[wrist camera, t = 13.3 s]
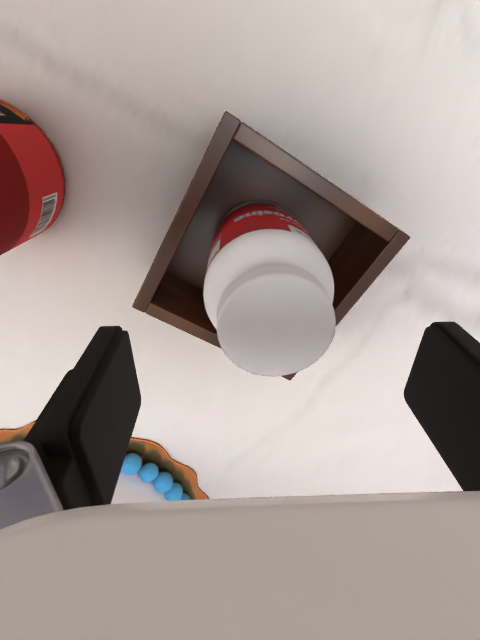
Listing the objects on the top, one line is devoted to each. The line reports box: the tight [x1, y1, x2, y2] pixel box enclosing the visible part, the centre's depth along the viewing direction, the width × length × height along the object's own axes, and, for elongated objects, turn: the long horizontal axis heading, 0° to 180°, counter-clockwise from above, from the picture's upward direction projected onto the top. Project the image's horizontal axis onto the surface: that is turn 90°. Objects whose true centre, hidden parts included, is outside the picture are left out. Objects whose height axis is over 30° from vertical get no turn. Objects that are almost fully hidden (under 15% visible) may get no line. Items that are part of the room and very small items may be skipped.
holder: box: [132, 111, 410, 380], centre depth 21 cm, size 11×11×6 cm
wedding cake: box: [0, 421, 208, 504], centre depth 30 cm, size 28×28×18 cm
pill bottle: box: [203, 200, 336, 376], centre depth 18 cm, size 6×6×11 cm
